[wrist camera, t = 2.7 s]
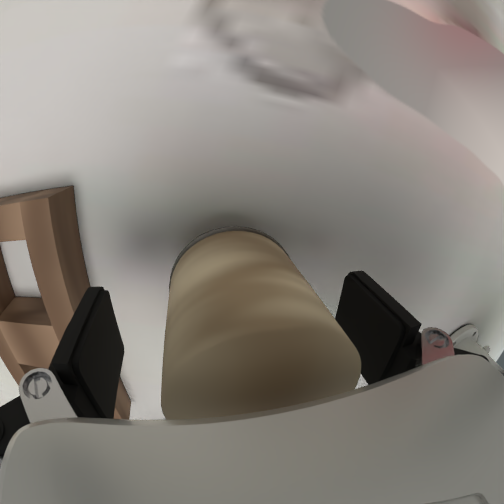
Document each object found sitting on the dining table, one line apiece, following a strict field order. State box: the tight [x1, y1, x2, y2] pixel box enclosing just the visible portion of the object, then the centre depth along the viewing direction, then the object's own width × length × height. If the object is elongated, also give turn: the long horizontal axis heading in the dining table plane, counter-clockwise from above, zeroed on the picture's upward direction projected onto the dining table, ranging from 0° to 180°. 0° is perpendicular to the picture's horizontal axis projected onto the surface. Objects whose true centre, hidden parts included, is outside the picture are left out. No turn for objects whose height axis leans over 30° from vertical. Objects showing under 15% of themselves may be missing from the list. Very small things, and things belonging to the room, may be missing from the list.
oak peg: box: [161, 226, 361, 420], centre depth 11 cm, size 6×6×10 cm
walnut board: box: [0, 186, 131, 420], centre depth 13 cm, size 9×18×3 cm, turn 177°
